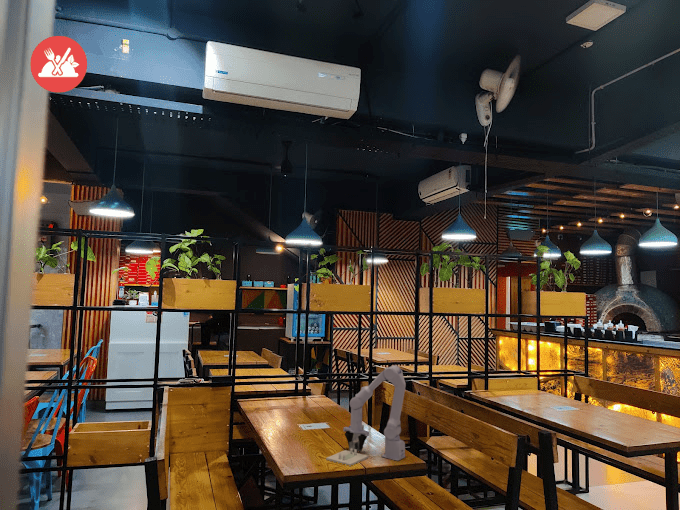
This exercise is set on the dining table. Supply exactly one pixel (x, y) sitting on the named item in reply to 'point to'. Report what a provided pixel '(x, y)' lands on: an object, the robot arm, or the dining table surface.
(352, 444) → the block
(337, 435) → the dining table surface
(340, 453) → the pin tray
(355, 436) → the medicine box
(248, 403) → the dining table surface
